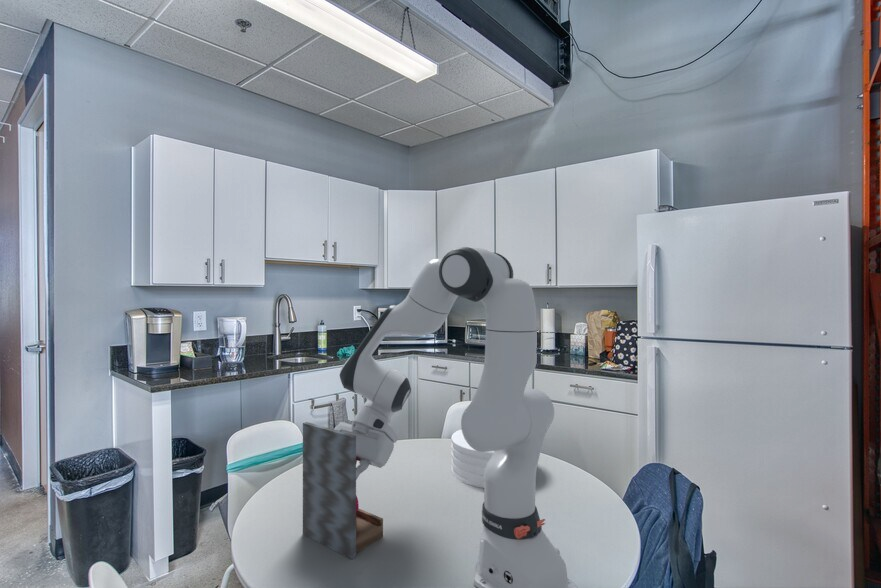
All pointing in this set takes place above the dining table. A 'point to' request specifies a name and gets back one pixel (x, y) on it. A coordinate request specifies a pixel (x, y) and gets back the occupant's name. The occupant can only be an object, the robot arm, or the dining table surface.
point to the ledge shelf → (334, 493)
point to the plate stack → (468, 461)
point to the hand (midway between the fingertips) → (341, 474)
